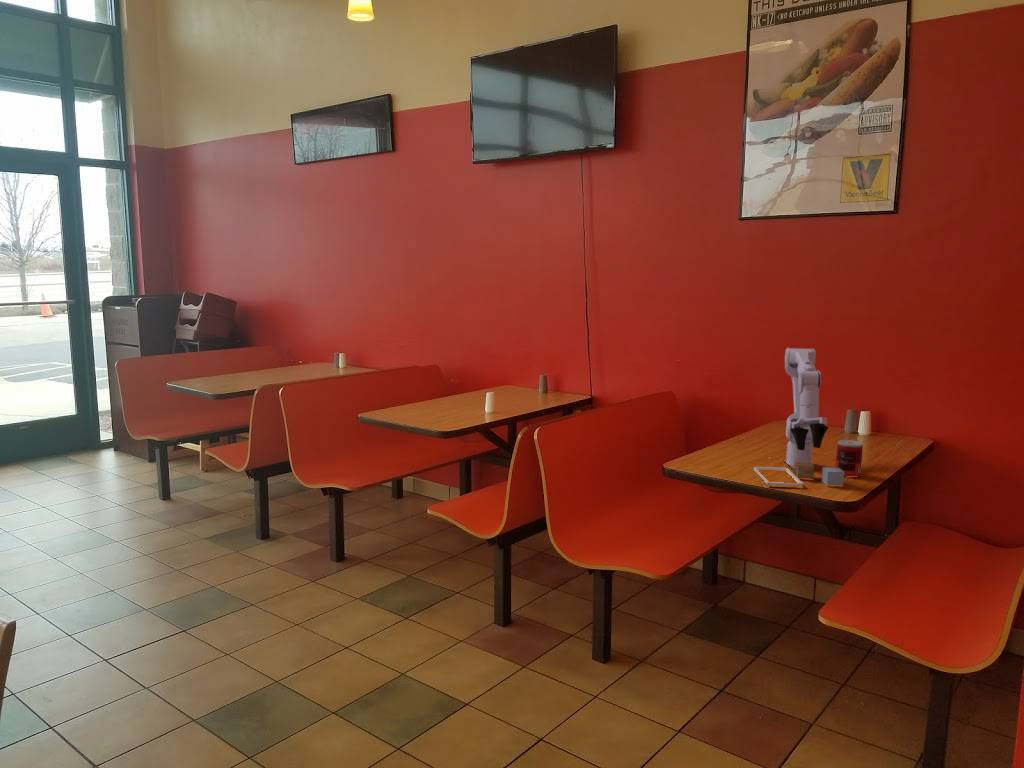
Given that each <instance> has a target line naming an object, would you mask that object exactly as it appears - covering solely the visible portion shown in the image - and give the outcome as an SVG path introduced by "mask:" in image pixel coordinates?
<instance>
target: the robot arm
mask: <svg viewBox="0 0 1024 768" xmlns="http://www.w3.org/2000/svg"><path fill="white" fill-rule="evenodd" d="M816 358H817V351H816V350H815V348H792V347H791V348H790V347H787V348H786V349H785V353H784V369H785V373H786V374H787V375H789V376H790V378H791V382H792V394H793V395H792V397H793V398H792V400H793V412H794V413H792V414H790V415H789V416H788V418H787V419H786V424H785V425H786V426H785V436H786V439H788V440H789V441H788V442H787V445H786V459H784V461H786V463H787V464H789V465H791V466H794V461H810V462H811V463H812V453H813V448H814V449H815V448H816V449H821V446H822V443H823V439H824V436H825V434H826V433H827V431H828V429H829V426H828V418H827V417H819V414H820V413H819V412H820V411H819V410H820V408H819V407H820V403H819V402H820V401H819V399H820V396H819V395H820V393H819V392H820V391H819V390H820V388H821V384H822V374H821V371H820V370H817V369H816V366H815V364H816V360H817V359H816ZM786 463H785V464H786ZM787 464H786V465H787Z"/></svg>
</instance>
